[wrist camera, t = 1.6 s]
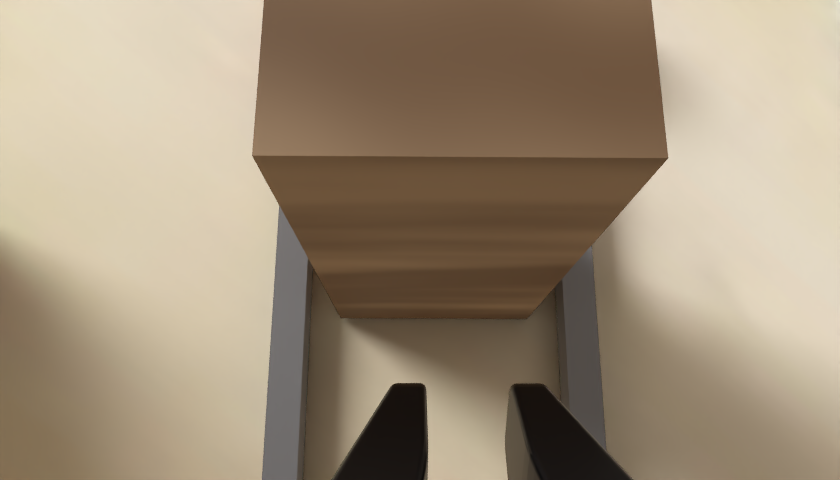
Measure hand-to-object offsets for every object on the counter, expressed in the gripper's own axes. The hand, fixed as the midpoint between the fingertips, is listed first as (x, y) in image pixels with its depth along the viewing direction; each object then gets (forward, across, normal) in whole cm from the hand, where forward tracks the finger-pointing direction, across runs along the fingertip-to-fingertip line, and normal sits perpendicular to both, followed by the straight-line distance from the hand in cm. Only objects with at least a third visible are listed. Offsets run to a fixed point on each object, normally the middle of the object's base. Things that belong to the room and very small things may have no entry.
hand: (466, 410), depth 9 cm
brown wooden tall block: (+13, 0, +6) cm, 14 cm away
